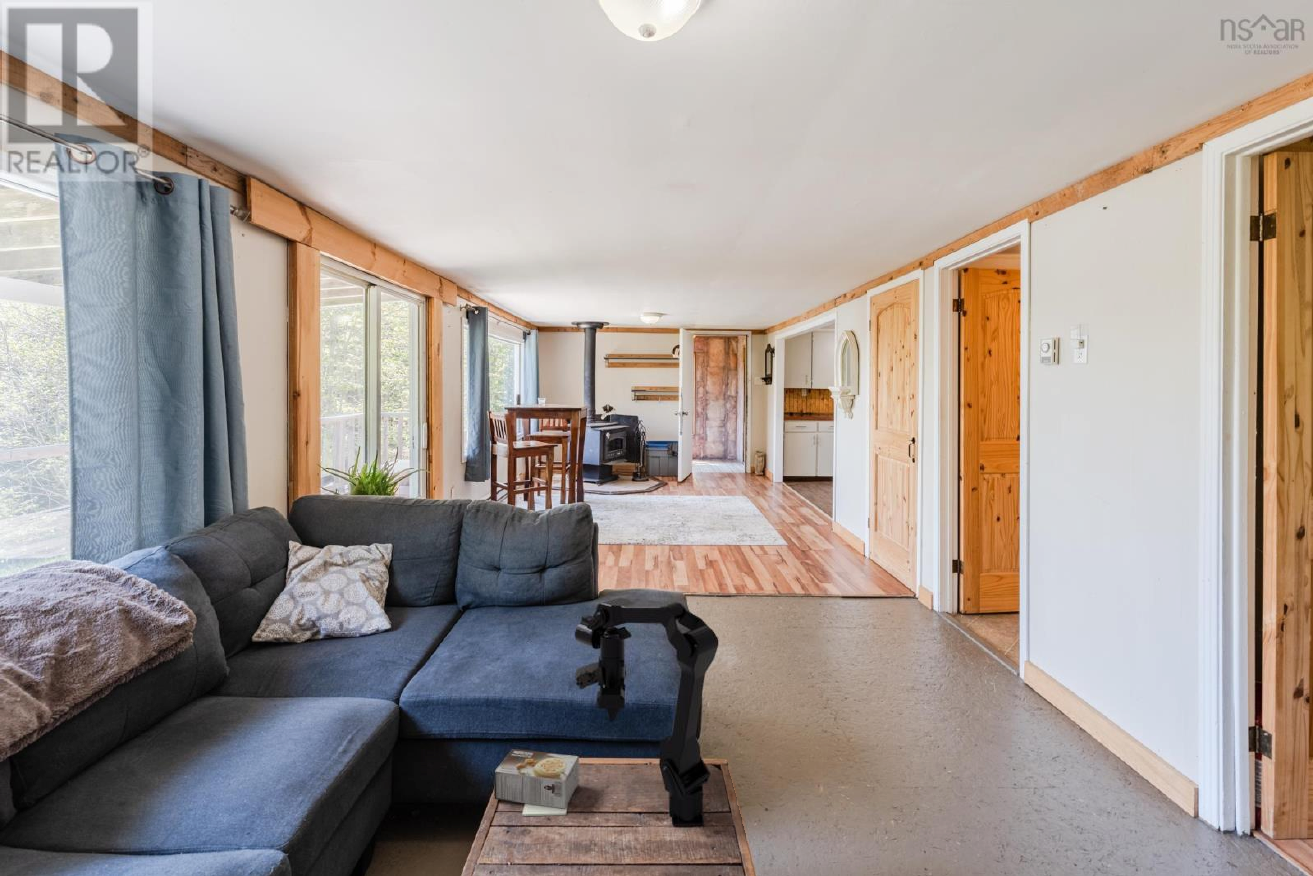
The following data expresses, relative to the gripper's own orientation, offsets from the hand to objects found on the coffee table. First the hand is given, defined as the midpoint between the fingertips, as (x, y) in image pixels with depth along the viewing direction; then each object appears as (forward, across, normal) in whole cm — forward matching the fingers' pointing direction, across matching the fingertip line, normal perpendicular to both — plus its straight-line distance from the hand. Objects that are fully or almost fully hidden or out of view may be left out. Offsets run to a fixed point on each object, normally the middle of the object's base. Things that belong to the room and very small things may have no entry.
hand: (612, 720), depth 136 cm
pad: (+12, +9, -14) cm, 20 cm away
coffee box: (+8, +10, -8) cm, 15 cm away
